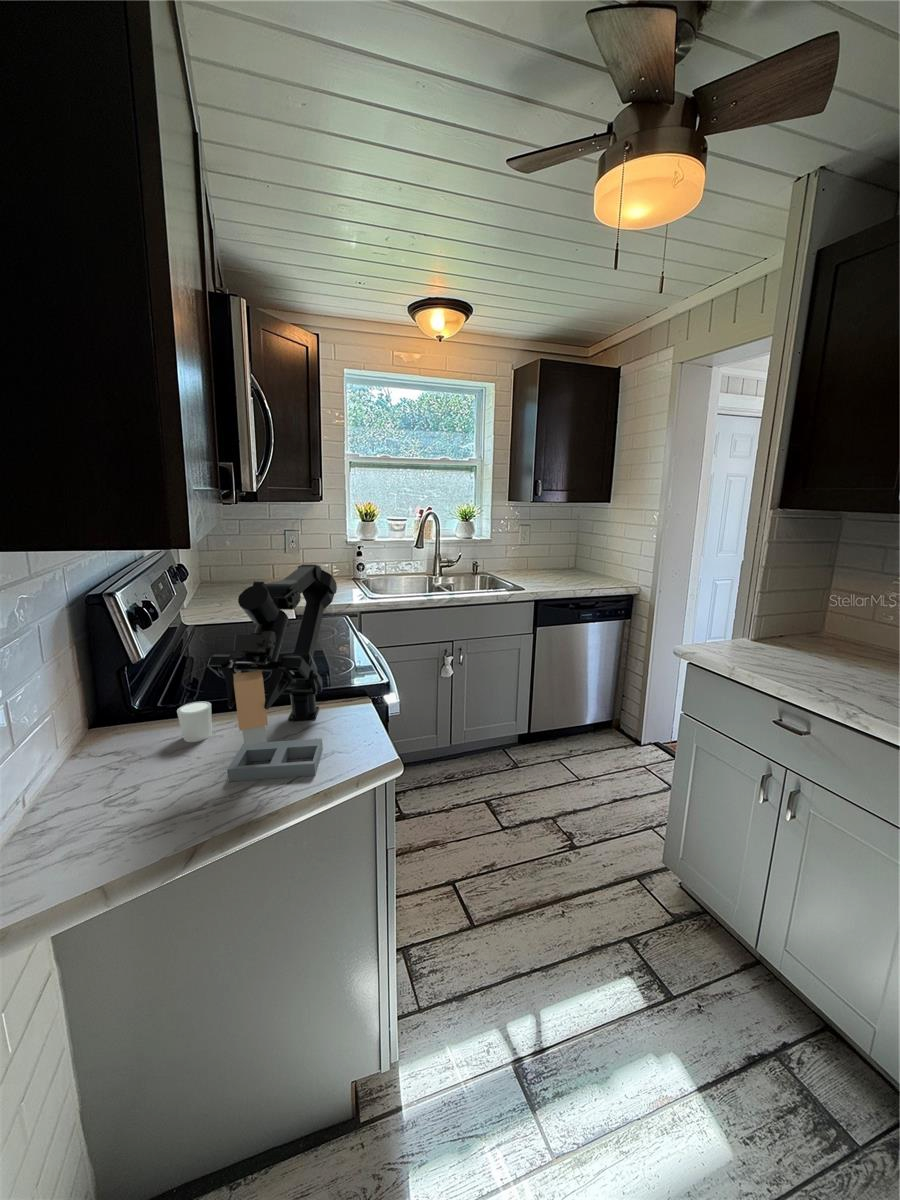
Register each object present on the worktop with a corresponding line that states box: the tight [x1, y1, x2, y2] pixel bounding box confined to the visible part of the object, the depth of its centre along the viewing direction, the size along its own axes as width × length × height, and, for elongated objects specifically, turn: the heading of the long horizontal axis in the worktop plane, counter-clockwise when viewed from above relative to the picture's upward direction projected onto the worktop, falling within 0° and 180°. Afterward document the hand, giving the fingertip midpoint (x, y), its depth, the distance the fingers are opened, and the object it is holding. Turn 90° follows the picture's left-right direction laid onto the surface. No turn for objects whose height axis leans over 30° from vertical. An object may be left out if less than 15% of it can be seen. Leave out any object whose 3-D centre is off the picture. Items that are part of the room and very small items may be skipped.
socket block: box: [226, 738, 324, 783], centre depth 97 cm, size 10×16×2 cm, turn 97°
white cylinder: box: [176, 701, 213, 743], centre depth 108 cm, size 7×7×7 cm
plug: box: [234, 670, 268, 746], centre depth 93 cm, size 5×5×13 cm
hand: (247, 708), depth 91 cm, fingers closed on plug, 7 cm apart
